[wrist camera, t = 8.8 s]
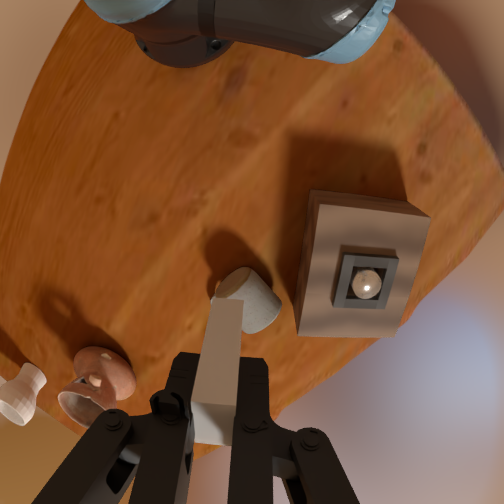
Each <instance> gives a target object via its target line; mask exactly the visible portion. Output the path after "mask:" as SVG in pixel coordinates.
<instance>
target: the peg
mask: <svg viewBox="0 0 504 504" xmlns="http://www.w3.org/2000/svg"><path fill="white" fill-rule="evenodd" d="M350 284H351V286H352V288H353V291H354V293H355V294H356V296H358V297H359V298H362V299H368V298H371V297H373V296H375V295H376V294H377V293H378V292H379V290H380V288H381V284H382V283H381V279H380V277H379V276H378V274H377V273H376V271H375V270H374V268H372V267H357V266H353V270H352V274H351V278H350Z"/></svg>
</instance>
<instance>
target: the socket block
mask: <svg viewBox="0 0 504 504" xmlns="http://www.w3.org/2000/svg"><path fill="white" fill-rule="evenodd" d="M430 220H431V217H429V216H428V215H426V214H425V213H424V212H422V211H421V210H419V209H418V208H416V207H415V206H414V205H412V204H411V203H409V202H407V201H401V200H394V199H387V198H380V197H373V196H365V195H357V194H349V193H341V192H332V191H324V190H314V189H310V193H309V201H308V208H307V216H306V223H305V231H304V238H303V245H302V252H301V258H300V265H299V272H298V278H297V285H296V291H295V297H294V303H293V310H294V316H295V322H296V329H297V335H298V336H312V337H394V336H395V334H396V332H397V329H398V326H399V323H400V321H401V318H402V315H403V312H404V309H405V307H406V304H407V301H408V298H409V295H410V292H411V289H412V285H413V282H414V279H415V276H416V273H417V269H418V266H419V262H420V259H421V255H422V252H423V248H424V244H425V241H426V237H427V233H428V229H429V225H430ZM353 266H357V267H372V268H374V270H375V271H376V273H377V274H378V276H379V277H380V279H381V283H382V284H381V288H380V290H379V292H378V293H377V294H376V295H375V296H373V297H371V298H368V299H362V298H359V297H358V296H356V294H355V293H354V291H353V288H352V286H351V284H350V278H351V274H352V270H353Z"/></svg>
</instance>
